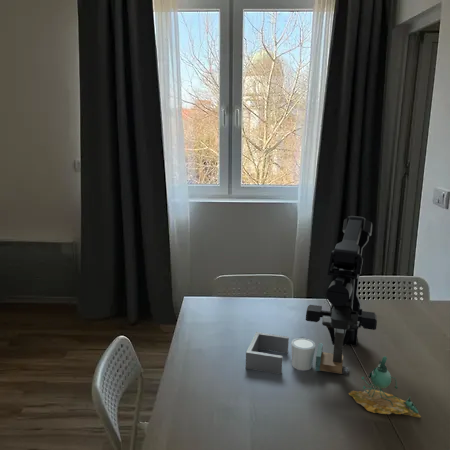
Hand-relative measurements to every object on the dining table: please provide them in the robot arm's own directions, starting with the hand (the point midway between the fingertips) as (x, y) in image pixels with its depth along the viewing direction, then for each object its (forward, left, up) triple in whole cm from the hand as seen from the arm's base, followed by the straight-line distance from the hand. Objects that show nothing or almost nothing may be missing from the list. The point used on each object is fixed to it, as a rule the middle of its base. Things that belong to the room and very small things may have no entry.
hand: (338, 344), depth 130 cm
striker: (+2, 0, -7) cm, 7 cm away
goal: (+19, 0, -8) cm, 21 cm away
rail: (+1, 0, -8) cm, 8 cm away
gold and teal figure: (-12, +14, -8) cm, 20 cm away
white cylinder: (+10, 0, -8) cm, 13 cm away
